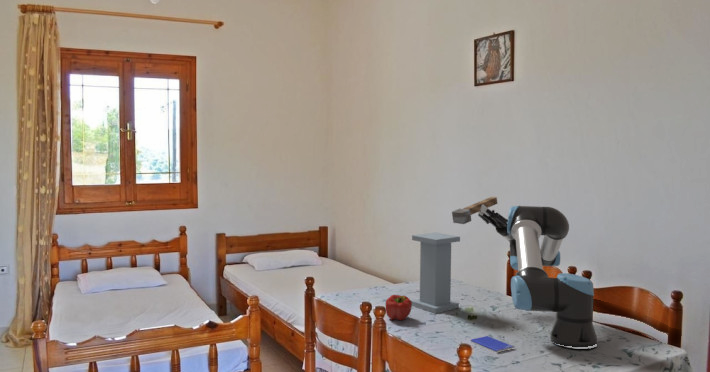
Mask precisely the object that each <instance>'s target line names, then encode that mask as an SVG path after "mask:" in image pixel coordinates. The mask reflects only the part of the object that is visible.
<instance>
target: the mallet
mask: <svg viewBox="0 0 710 372" xmlns="http://www.w3.org/2000/svg"><path fill="white" fill-rule="evenodd" d="M482 204H483V205H485V206H486V207H487V208H488V209H489V208H490V207H493V206H495V205H498V197H496V196H490V197H488V198H485V199H483V200H481V201H478V202H475V203H473V204H471V205H468V206H466V207H464V208H458V209H455V210H453V211H451V215H452V222H453V224H460V225H466V224H467V223H470V222H472V215H474V214H477V213H478V212H479V211H481V210H480V208H481V206H482Z"/></svg>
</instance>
